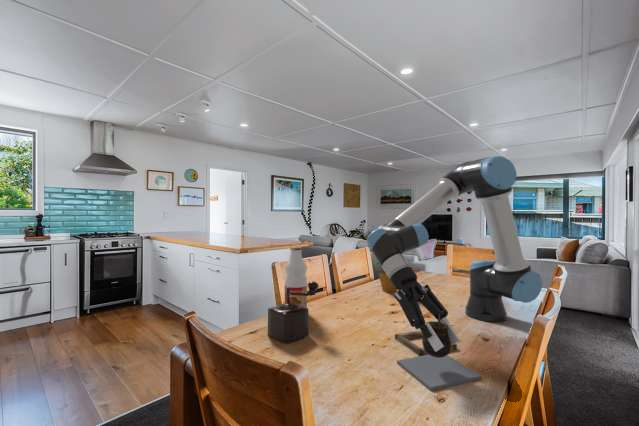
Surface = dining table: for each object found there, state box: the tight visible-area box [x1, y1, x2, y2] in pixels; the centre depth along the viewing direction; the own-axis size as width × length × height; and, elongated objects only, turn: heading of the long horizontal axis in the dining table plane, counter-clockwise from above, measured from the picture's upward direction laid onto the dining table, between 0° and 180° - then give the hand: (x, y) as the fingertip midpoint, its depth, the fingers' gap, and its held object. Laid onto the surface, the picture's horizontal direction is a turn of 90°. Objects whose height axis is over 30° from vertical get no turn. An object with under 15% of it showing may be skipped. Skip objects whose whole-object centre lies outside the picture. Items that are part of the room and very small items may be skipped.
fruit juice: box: [284, 246, 308, 308], centre depth 128 cm, size 9×9×28 cm
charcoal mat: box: [396, 354, 482, 392], centre depth 82 cm, size 16×14×1 cm
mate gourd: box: [421, 313, 451, 358], centre depth 82 cm, size 7×8×10 cm
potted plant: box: [373, 260, 398, 293], centre depth 165 cm, size 18×19×30 cm
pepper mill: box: [267, 281, 319, 345], centre depth 107 cm, size 16×11×18 cm
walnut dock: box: [394, 330, 458, 356], centre depth 99 cm, size 14×13×2 cm
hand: (448, 345), depth 79 cm, fingers closed on mate gourd, 7 cm apart
